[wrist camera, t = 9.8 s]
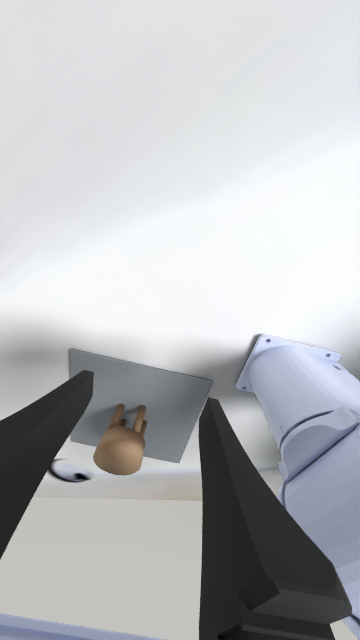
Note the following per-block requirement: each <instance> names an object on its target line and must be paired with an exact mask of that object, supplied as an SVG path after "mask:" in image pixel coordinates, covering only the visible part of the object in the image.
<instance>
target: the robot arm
mask: <svg viewBox="0 0 360 640" xmlns="http://www.w3.org/2000/svg"><path fill="white" fill-rule="evenodd" d="M267 339H269V341H266V340H267ZM327 354H328V355H327ZM340 358H341V354H339V353H338V352H334V351H330V350H326V349H322V348H318V347H314V346H310V345H306V344H301V343H297V342H293V341H289V340H285V339H281V338H277V337H273V336H269V335H264V334H263V335H260V336H259V338H258V340H257V342H256V344H255V346H254V348H253V350H252V352H251V354H250V356H249V358H248V360H247V362H246V364H245V366H244V369H243V371H242V373H241V375H240V377H239V379H238V381H237V383H236V388H237V389H238V390H242V391H246V392H251V393H255V395H256V397H257V399H258V402H259V404H260V406H261V409H262V411H263V414H264V416H265V418H266V421H267V423H268V425H269V428H270V430H271V432H272V435H273V437H274V440H275V442H276V444H277V447H278V449H279V451H280V454H281V460H280V462H279V463H278V464H277V465H278V467H279V470H280V473H281V475H282V478H283V480H284V482H283V483H282V484H281V485H280V487H279V490H278V493H277V497H276V496H275V495H274V493H273V492H272V491H271V489H270V488H269V487H268V485H267V484H266V483H265V481H264V480H263V478H262V477H261V476H260V474H259V473H258V471H257V470H256V468H255V467H254V465H253V464H252V462H251V460H250V459H249V457H248V456H247V454H246V452H245V451H244V449H243V447H242V446H241V444H240V442H239V440H238V438H237V437H236V435H235V433H234V431H233V429H232V427H231V425H230V423H229V421H228V419H227V417H226V415H225V413H224V411H223V409H222V407H221V405H220V403H219V401H218V400H217V399H213V398H208V399H207V402H206V404H205V407H204V409H203V411H202V414H201V416H200V419H199V449H200V461H201V474H202V490H203V524H202V525H203V526H202V528H203V530H202V572H201V597H200V619H199V640H335V638H334V635H333V632H332V630H331V627H330V623H332V622H335V621H338V620H342V621H343V622H344V623H345V624H346V625H347V626H348V628H349V629H350V630H351V631H352V632H353V633H354V634H355V636H356V637H357V638H358V640H360V381H359V380H358V379H357V378H355V377H354V376H353V375H352V374H351V373H349V372H348V371H347V370H346V369H344V368H343V367H342V366H341V365H340V364H338V361H339V360H340ZM93 379H94V372H92V371H87V370H83V371H81V372H80V373H78V374H77V375H75V376H74V377H72V378H71V379H69V380H68V381H66V382H65V383H64V384H62V385H61V386H59V387H57V388H56V389H54V390H53V391H51V392H50V393H48V394H47V395H45V396H44V397H42V398H40V399H39V400H37V401H35V402H34V403H32V404H30V405H29V406H27V407H25V408H23V409H22V410H20V411H18V412H16V413H14V414H12V415H11V416H9V417H7V418H5V419H3V420H1V421H0V559H1V557H2V555H3V553H4V551H5V549H6V547H7V545H8V543H9V541H10V539H11V537H12V535H13V533H14V531H15V529H16V527H17V526H18V524H19V522H20V520H21V518H22V516H23V514H24V512H25V510H26V508H27V506H28V505H29V503H30V501H31V499H32V497H33V495H34V493H35V492H36V490H37V488H38V486H39V484H40V482H41V481H42V479H43V477H44V475H45V473H46V472H47V470H48V468H49V466H50V464H51V463H52V461H53V459H54V458H55V456H56V455H57V453H58V451H59V450H60V448H61V447H62V445H63V444H64V442H65V441H66V439H67V438H68V436H69V435H70V433H71V432H72V430H73V429H74V427H75V426H76V424H77V423H78V421H79V420H80V418H81V417H82V415H83V414H84V412H85V410H86V408H87V406H88V404H89V402H90V400H91V398H92V396H93ZM244 386H245V387H244ZM0 640H165V639H158V638H152V637H146V636H140V635H133V634H127V633H120V632H114V631H108V630H101V629H95V628H89V627H82V626H76V625H69V624H63V623H57V622H50V621H44V620H38V619H31V618H25V617H19V616H12V615H5V614H0Z"/></svg>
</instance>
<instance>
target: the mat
mask: <svg viewBox="0 0 360 640" xmlns="http://www.w3.org/2000/svg"><path fill="white" fill-rule="evenodd" d="M69 365H70V379H71V378H72V377H74V376H75V375H77V374H78V373H80V372H81V371H83V370H87V371H92V372H94V379H93V396H92V398H91V400H90V402H89V404H88V406H87V408H86V410H85V412H84V414H83V415H82V417H81V418H80V420H79V421H78V423H77V424H76V426H75V427H74V429H73V430H72V432H71V441H72V442H76V443H81V444H86V445H91V446H96V447H97V446H98V444H99V442H100V440H101V438H102V435H103V433H104V432H105V431H106V430H107V429H108V427H109V424H110V422H111V420H112V418H113V415H114V413H115V411H116V409H117V406H118V404H124V405H125V408H124V411H123V413H122V416H121V418H120V420H121V419H126V420H127V423H126V426H125V427H126V428H130V429H132V428H133V425H134V422H135V419H136V415H137V412H138V409H139V406H140V405H144V406H146V411H145V415H144V418H143V420H145V421H147V426H146V430H145V434H144V440H145V449H144V453H143V456H145V457H150V458H155V459H160V460H164V461H169V462H174V463H179V462H180V460H181V457H182V455H183V452H184V450H185V448H186V445H187V443H188V440H189V438H190V435H191V433H192V430H193V428H194V426H195V423H196V421H197V418H198V416H199V413H200V411H201V408H202V406H203V404H204V401H205V399H206V396H207V394H208V391H209V389H210V386H211V384H212V381H211V380H207V379H202V378H198V377H193V376H189V375H185V374H180V373H176V372H172V371H167V370H163V369H158V368H154V367H150V366H145V365H141V364H136V363H132V362H128V361H123V360H119V359H115V358H110V357H106V356H101V355H97V354H93V353H88V352H84V351H79V350H75V349H70V350H69ZM119 422H120V421H119ZM118 425H119V424H118ZM117 427H118V426H117Z"/></svg>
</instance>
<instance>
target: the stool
mask: <svg viewBox="0 0 360 640" xmlns="http://www.w3.org/2000/svg"><path fill="white" fill-rule="evenodd" d="M124 408H125V405H124V404H118V406H117V409H116V411H115V413H114V415H113V418H112V420H111V422H110V424H109V427H108V429H107V430H106V431H105V432H104V433H103V435H102V438H101V440H100V442H99V444H98V446H97V449H96V451H95V453H94V456H93V459H94V462H95V463H96V465H97V466H98V467H99V468H101V469H102V470H104V471H106V472H108V473H111V474H115V475H130V474H133V473H135V472H137V471H138V470H139V469H140V467H141V462H142V458H143V453H144V449H145V440H144V434H145V430H146V426H147V421H145V420H143V418H144V415H145V411H146V406H144V405H140V406H139V409H138V412H137V415H136V419H135V422H134V425H133V428H132V429H130V428H126V427H125V426H126V423H127V420H126V419H121V420H120V418H121V416H122V413H123V411H124ZM119 421H120V422H119ZM118 424H119V425H118ZM117 426H118V427H117Z"/></svg>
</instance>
